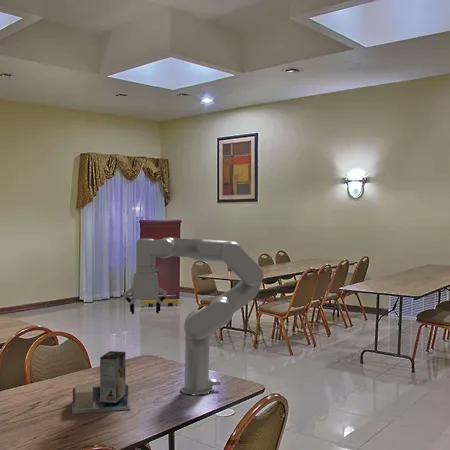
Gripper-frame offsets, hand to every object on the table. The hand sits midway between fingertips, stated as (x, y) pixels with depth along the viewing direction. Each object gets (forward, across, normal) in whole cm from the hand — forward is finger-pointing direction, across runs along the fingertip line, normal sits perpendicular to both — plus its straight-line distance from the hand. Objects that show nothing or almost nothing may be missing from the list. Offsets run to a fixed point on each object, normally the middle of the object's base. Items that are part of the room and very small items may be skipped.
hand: (145, 313), depth 213 cm
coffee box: (+28, +13, +15) cm, 34 cm away
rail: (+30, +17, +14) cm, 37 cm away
